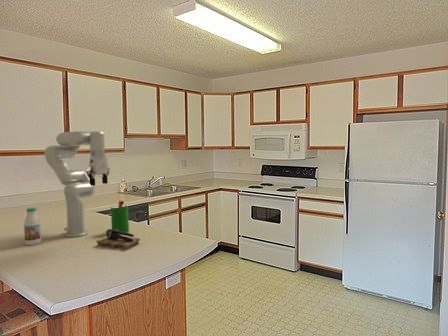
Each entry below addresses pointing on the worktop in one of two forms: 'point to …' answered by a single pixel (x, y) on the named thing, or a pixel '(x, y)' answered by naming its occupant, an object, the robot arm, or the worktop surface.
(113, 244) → the stand
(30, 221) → the milk bottle
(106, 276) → the worktop surface
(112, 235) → the can opener
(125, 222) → the motor
